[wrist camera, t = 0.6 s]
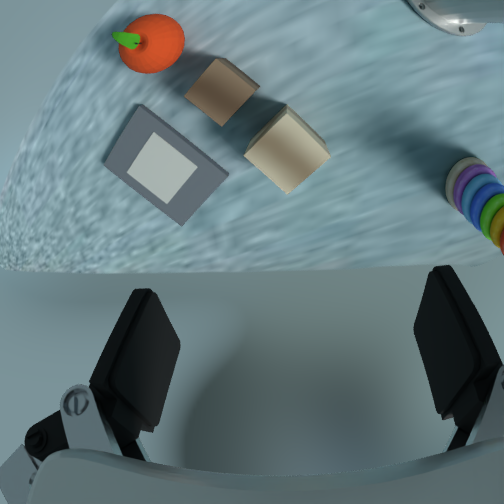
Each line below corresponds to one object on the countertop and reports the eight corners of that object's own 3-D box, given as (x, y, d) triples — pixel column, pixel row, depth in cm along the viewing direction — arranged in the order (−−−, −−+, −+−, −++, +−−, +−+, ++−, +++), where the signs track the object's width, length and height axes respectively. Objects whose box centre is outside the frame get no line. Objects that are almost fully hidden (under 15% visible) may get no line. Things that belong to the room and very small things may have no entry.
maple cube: (286, 104, 30) (286, 113, 25) (324, 140, 32) (331, 156, 27) (250, 139, 33) (243, 155, 28) (287, 173, 35) (287, 194, 30)
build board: (142, 104, 31) (138, 106, 30) (229, 173, 36) (227, 177, 35) (107, 162, 36) (103, 165, 35) (183, 222, 41) (181, 226, 40)
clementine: (121, 58, 27) (88, 63, 22) (144, 8, 23) (113, 2, 18) (177, 79, 29) (151, 86, 23) (203, 27, 25) (182, 21, 19)
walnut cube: (226, 58, 27) (215, 58, 23) (260, 86, 29) (255, 90, 25) (197, 90, 30) (183, 96, 26) (230, 117, 31) (221, 126, 27)
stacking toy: (434, 199, 34) (502, 300, 19) (455, 146, 29) (547, 227, 14) (473, 213, 34) (539, 306, 19) (494, 166, 29) (578, 246, 14)
